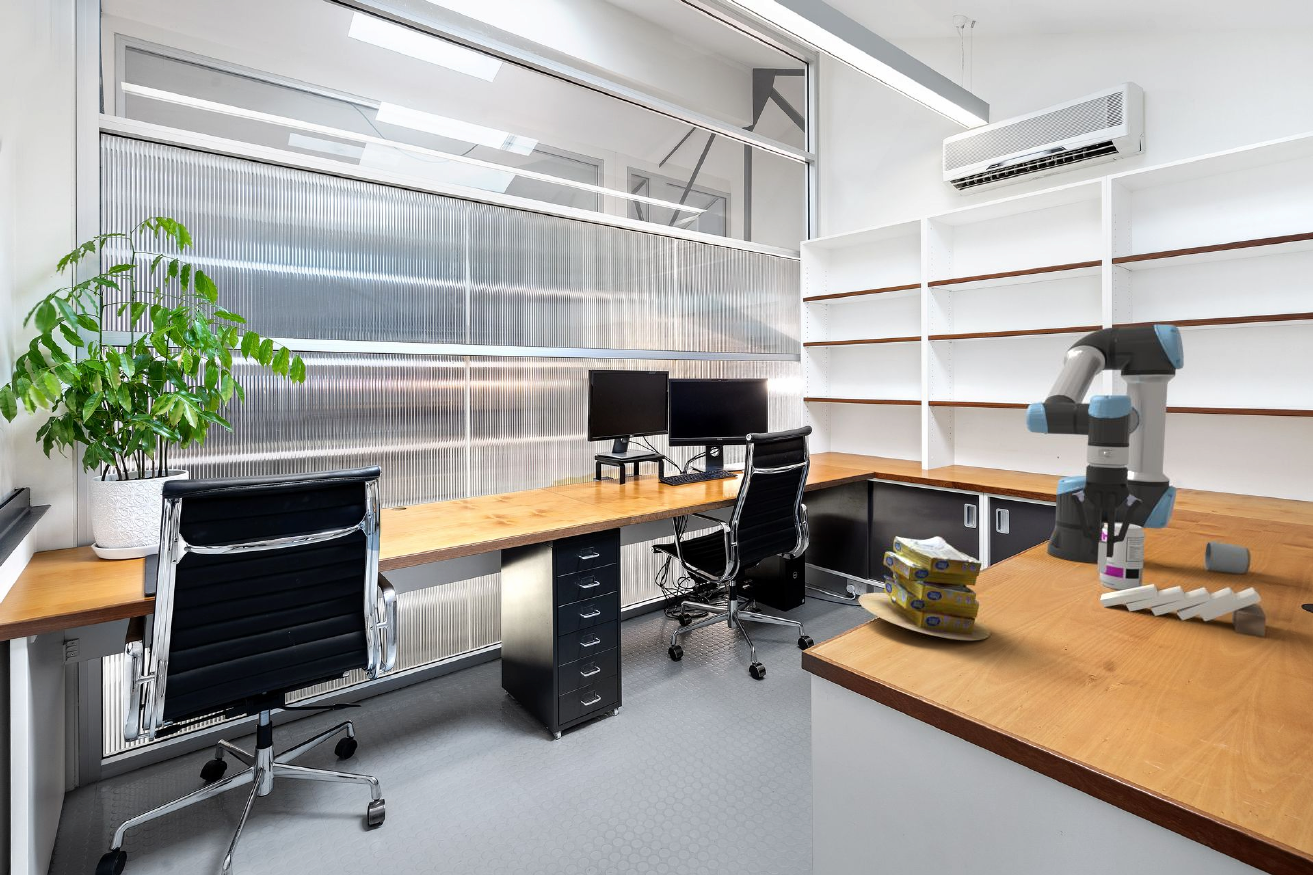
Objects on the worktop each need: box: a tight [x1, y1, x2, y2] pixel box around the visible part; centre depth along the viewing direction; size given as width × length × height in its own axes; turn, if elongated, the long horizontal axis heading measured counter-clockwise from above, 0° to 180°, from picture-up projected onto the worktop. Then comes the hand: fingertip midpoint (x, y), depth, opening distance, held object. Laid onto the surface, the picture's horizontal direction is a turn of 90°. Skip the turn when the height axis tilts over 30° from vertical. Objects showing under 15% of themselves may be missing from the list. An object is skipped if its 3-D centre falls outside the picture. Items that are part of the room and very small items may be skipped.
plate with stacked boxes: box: [857, 536, 991, 641], centre depth 129 cm, size 25×25×17 cm
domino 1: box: [1099, 583, 1159, 608], centre depth 138 cm, size 2×5×10 cm
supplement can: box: [1099, 523, 1145, 591], centre depth 153 cm, size 8×8×15 cm
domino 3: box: [1150, 586, 1211, 617], centre depth 133 cm, size 2×5×10 cm
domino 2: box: [1125, 585, 1185, 612], centre depth 135 cm, size 2×5×10 cm
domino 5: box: [1199, 587, 1262, 622], centre depth 128 cm, size 2×5×10 cm
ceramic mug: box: [1204, 540, 1252, 575], centre depth 168 cm, size 11×8×8 cm
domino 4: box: [1176, 586, 1237, 621], centre depth 130 cm, size 2×5×10 cm
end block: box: [1231, 603, 1267, 638], centre depth 126 cm, size 4×9×4 cm, turn 142°
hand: (1101, 570), depth 141 cm, fingers closed
